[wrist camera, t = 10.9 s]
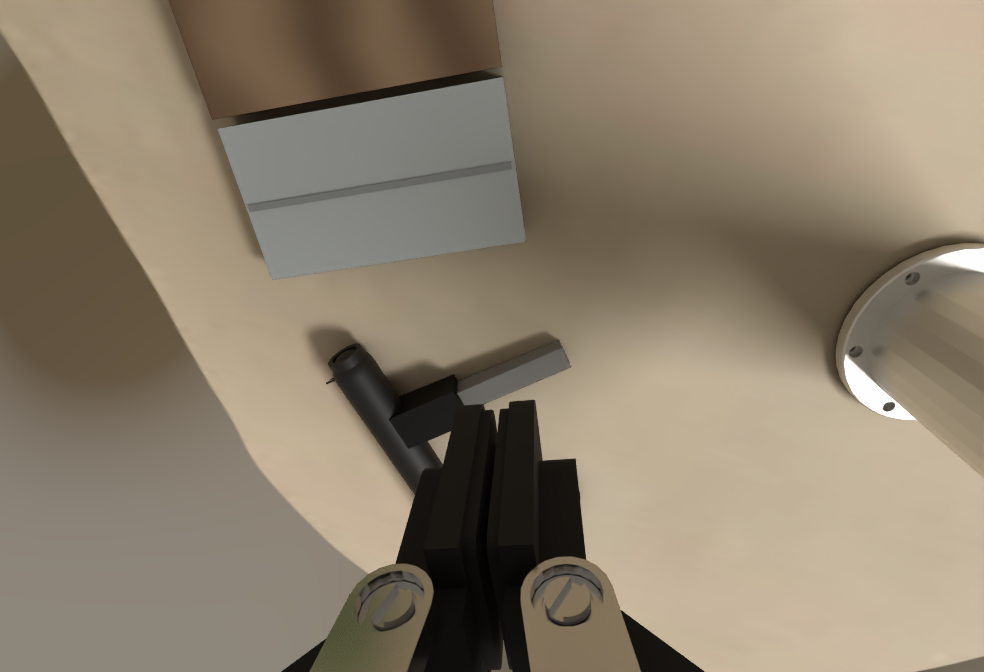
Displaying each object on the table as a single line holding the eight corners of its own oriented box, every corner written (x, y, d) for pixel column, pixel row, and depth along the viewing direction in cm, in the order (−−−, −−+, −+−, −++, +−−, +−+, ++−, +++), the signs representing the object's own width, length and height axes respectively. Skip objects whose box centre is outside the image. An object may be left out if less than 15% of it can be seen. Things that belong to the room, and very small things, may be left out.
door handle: (526, 276, 34) (305, 379, 36) (634, 502, 41) (446, 573, 44) (522, 260, 37) (318, 356, 39) (623, 473, 44) (448, 541, 47)
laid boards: (503, 76, 30) (502, 77, 29) (525, 232, 34) (526, 242, 32) (233, 125, 32) (216, 129, 30) (284, 269, 36) (271, 280, 34)
